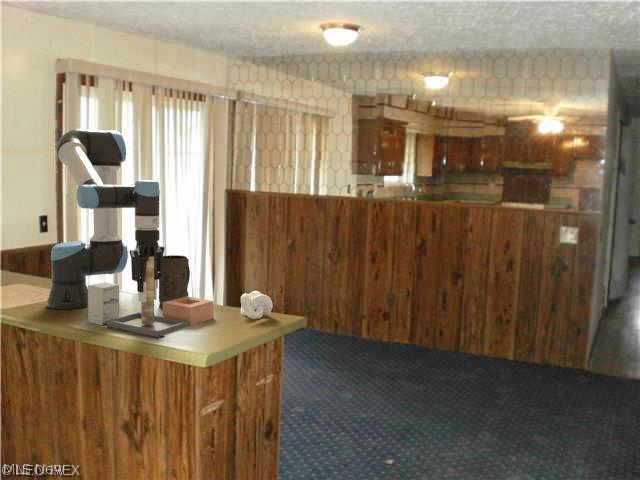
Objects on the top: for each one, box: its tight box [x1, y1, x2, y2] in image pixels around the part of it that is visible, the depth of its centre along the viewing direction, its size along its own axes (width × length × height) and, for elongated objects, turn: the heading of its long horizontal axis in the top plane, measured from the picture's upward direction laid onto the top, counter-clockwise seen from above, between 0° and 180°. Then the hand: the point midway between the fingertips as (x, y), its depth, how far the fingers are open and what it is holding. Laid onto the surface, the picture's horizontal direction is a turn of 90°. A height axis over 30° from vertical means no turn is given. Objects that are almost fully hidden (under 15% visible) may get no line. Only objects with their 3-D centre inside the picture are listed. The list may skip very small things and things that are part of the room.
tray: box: [106, 311, 189, 340], centre depth 207 cm, size 22×14×2 cm, turn 61°
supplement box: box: [87, 282, 120, 326], centre depth 213 cm, size 7×7×13 cm
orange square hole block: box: [162, 295, 215, 326], centre depth 216 cm, size 12×12×7 cm
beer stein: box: [158, 254, 191, 310], centre depth 235 cm, size 15×11×20 cm
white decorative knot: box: [240, 290, 274, 320], centre depth 223 cm, size 11×12×9 cm
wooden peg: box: [140, 256, 155, 326], centre depth 205 cm, size 4×4×22 cm
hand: (147, 300), depth 206 cm, fingers closed on wooden peg, 4 cm apart
